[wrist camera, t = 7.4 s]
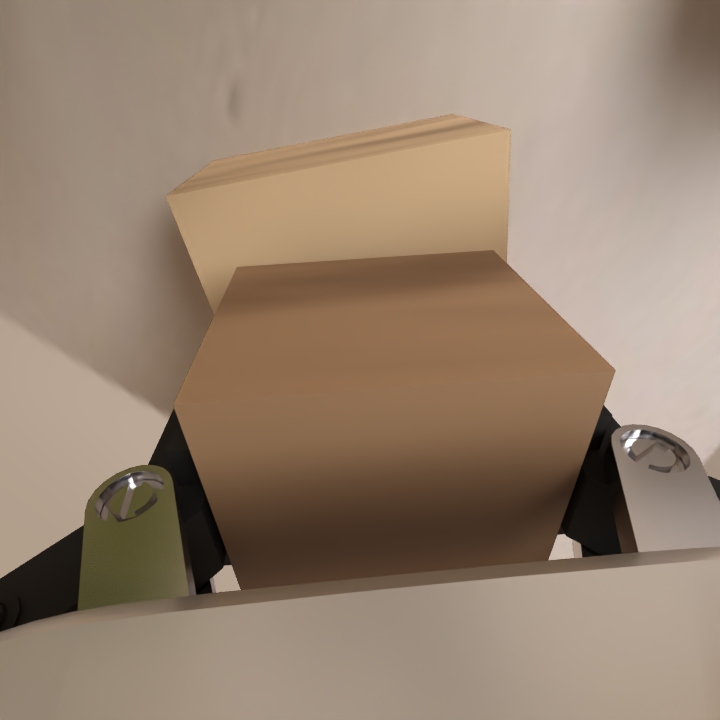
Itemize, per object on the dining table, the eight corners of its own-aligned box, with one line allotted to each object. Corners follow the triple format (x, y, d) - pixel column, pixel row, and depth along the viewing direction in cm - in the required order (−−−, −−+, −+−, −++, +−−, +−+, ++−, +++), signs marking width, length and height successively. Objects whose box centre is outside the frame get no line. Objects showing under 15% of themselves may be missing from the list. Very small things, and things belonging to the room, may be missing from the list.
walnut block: (236, 266, 10) (172, 404, 6) (493, 249, 10) (615, 370, 6) (276, 452, 13) (254, 626, 9) (467, 436, 13) (534, 598, 9)
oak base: (215, 160, 16) (165, 196, 11) (451, 113, 16) (510, 129, 11) (279, 355, 21) (265, 441, 16) (459, 323, 21) (502, 400, 16)
